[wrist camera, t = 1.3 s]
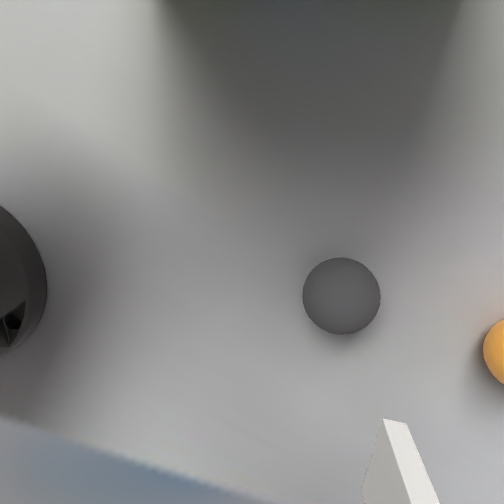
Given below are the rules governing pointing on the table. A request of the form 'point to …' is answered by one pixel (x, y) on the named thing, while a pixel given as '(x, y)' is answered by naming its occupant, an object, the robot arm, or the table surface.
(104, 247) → the table surface
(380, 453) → the robot arm
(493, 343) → the object ball
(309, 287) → the dark gray ball
